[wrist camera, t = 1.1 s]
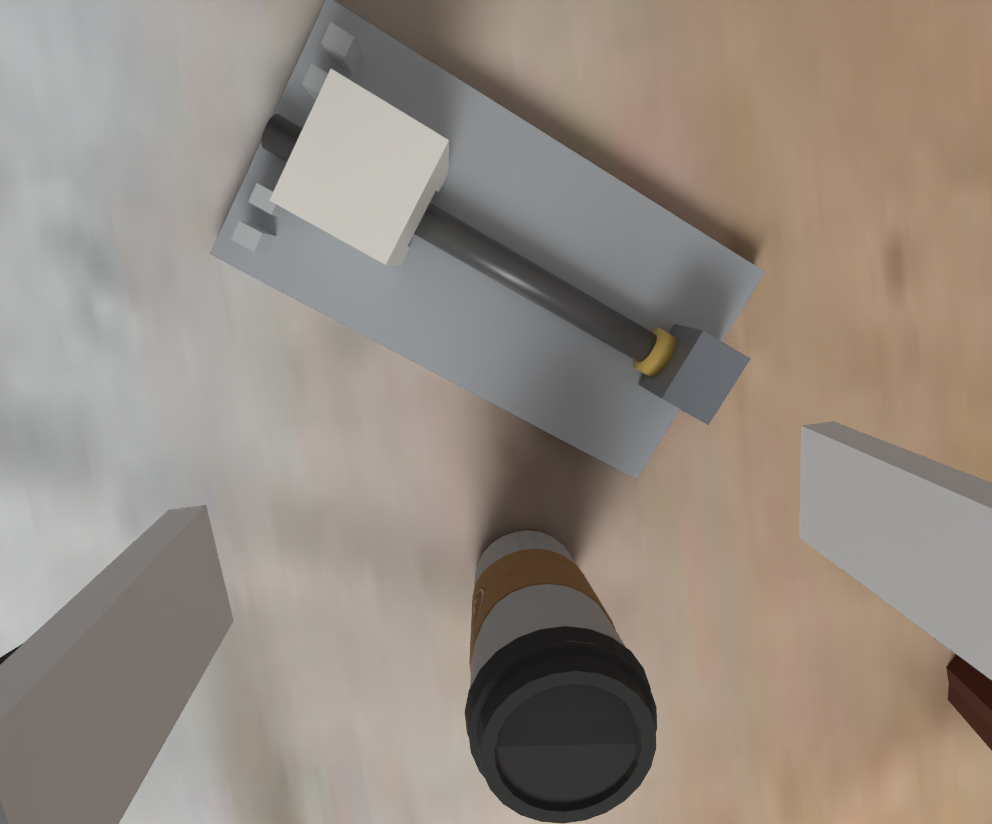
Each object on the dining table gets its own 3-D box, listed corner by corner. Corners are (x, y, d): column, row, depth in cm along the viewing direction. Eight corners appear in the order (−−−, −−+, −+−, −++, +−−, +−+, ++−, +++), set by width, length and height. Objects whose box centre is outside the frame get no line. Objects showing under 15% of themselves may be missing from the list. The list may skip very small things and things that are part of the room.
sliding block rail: (220, 254, 34) (177, 251, 28) (332, 9, 31) (309, -45, 26) (629, 471, 38) (658, 504, 33) (752, 271, 36) (805, 271, 31)
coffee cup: (461, 510, 38) (470, 659, 24) (592, 512, 39) (680, 657, 24) (456, 630, 40) (462, 837, 25) (582, 630, 41) (658, 830, 26)
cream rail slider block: (314, 218, 32) (269, 200, 24) (361, 121, 31) (330, 68, 23) (400, 266, 33) (385, 264, 25) (448, 173, 32) (449, 140, 24)
